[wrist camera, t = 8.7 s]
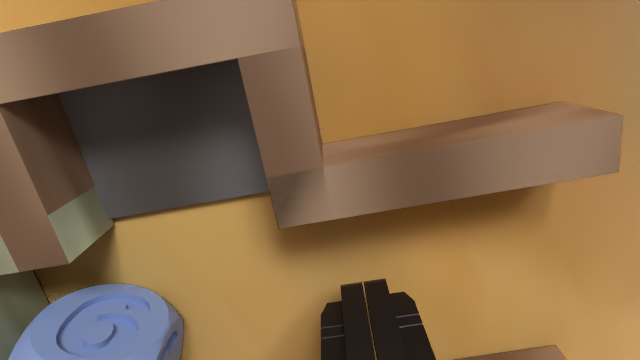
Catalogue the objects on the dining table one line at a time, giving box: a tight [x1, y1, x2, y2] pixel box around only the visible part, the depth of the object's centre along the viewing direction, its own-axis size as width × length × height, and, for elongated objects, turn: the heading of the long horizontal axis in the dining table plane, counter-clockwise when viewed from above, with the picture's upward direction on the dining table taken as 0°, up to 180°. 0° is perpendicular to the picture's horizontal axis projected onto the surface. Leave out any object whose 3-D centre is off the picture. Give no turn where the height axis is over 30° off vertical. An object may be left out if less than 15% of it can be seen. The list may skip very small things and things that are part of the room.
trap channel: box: [0, 0, 623, 360], centre depth 13 cm, size 20×20×2 cm
